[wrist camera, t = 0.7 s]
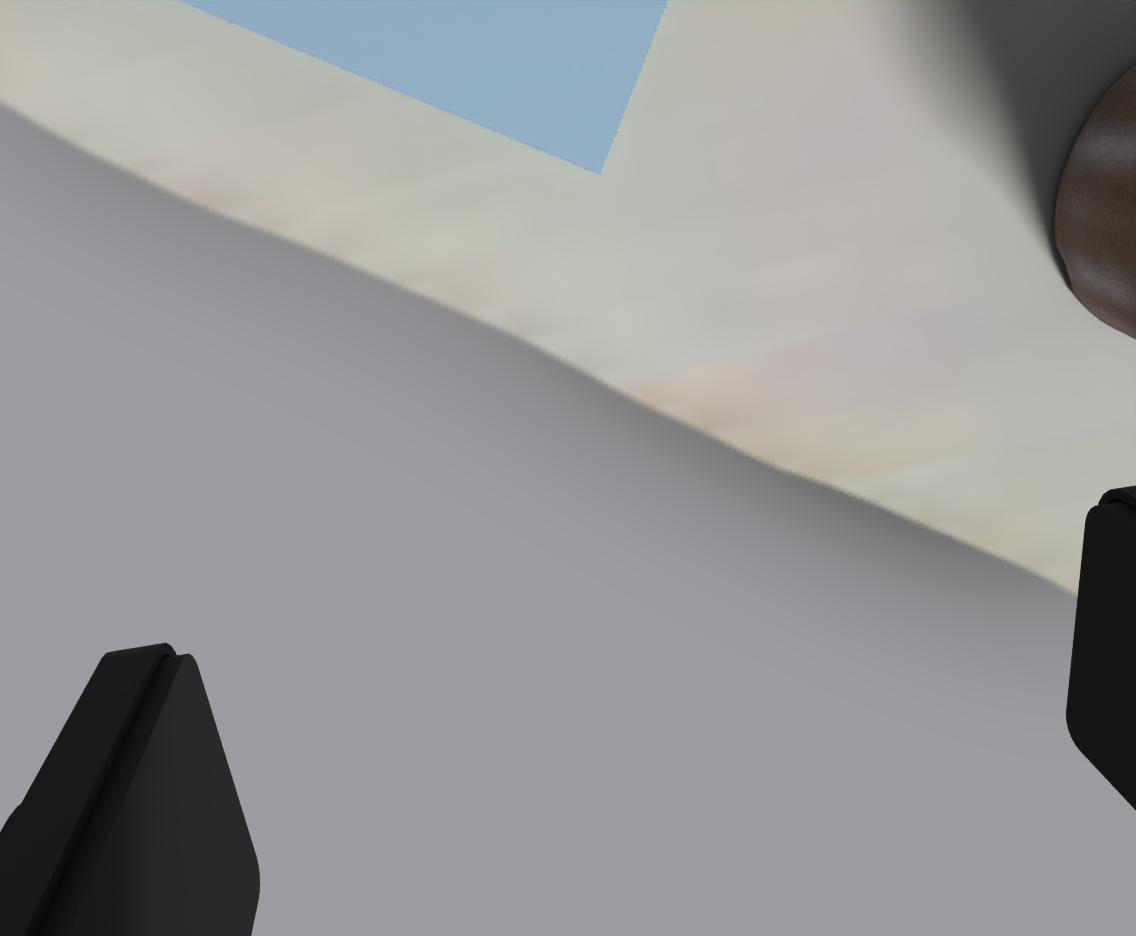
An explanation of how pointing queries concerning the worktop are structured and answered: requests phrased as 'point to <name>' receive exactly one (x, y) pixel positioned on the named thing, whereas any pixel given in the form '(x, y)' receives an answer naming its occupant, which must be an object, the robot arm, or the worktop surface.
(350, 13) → the mat
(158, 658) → the robot arm
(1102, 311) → the plant pot
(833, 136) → the worktop surface
